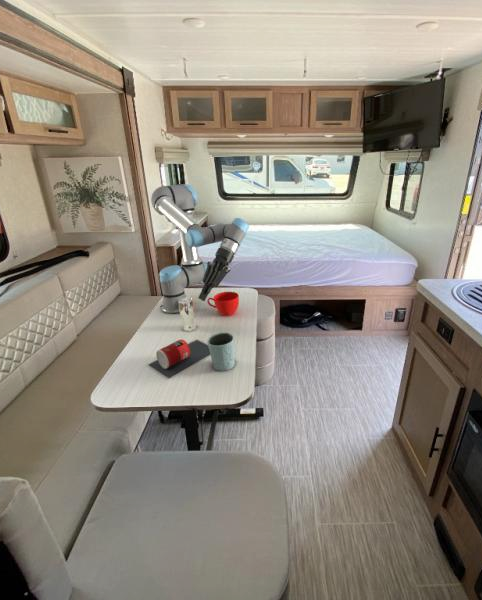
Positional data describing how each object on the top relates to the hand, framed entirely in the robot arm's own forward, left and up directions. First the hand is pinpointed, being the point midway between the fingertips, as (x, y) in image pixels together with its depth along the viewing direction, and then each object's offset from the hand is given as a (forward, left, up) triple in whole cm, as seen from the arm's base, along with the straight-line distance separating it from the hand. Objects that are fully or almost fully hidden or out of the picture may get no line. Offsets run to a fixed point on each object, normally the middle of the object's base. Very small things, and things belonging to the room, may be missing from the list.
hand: (201, 299), depth 135 cm
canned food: (-3, -11, -17) cm, 21 cm away
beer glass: (-17, +11, -22) cm, 30 cm away
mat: (-4, -12, -22) cm, 25 cm away
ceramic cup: (-9, +31, -22) cm, 39 cm away
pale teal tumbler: (+15, -11, -22) cm, 29 cm away
